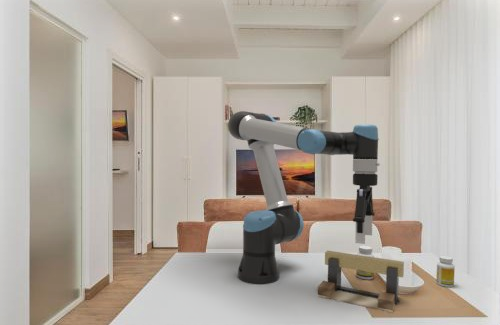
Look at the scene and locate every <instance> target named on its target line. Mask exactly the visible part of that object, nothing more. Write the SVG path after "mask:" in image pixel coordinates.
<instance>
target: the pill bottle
mask: <svg viewBox="0 0 500 325" xmlns="http://www.w3.org/2000/svg"><path fill="white" fill-rule="evenodd" d="M358 251H359V252H357V253H356V255H362V256H368V257H375V255H374V254H373V248H372V247H371V246H368V245H359V246H358ZM374 274H375V273H373V272H367V271H361V270H356V271H355V275H356V277H357V278H358V279H362V280H372V279H373V278H374Z"/></svg>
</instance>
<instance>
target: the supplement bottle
mask: <svg viewBox="0 0 500 325" xmlns="http://www.w3.org/2000/svg"><path fill="white" fill-rule="evenodd" d="M453 261H454V260H453V257H451V256H447V255H440V256H439V261H438V262H437V264H436V281H435V282H436V284H437V285H439V286H441V287H446V288H453V287H454V286H455V267H456V266H455V265H454V263H453Z"/></svg>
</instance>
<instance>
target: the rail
mask: <svg viewBox="0 0 500 325" xmlns="http://www.w3.org/2000/svg"><path fill="white" fill-rule="evenodd" d="M329 258H330V259H337V260H338V267H341V268H345V269H348V270H349V269H350V270H361V271H367V272H373V273H374V274H379V275H386V274H387V268H394V269H398V273H397V277H399V278H404V274H405V273H404V272H405V270H404V269H405V261H402V260H396V259H395V260H394V259H387V258H381V257H375V256H374V257H368V256H362V255H357V254H355V253H354V254H353V253H346V252H339V251H333V250H326V251H324V265H327V266H328V259H329Z"/></svg>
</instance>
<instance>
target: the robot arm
mask: <svg viewBox="0 0 500 325" xmlns="http://www.w3.org/2000/svg"><path fill="white" fill-rule="evenodd" d="M227 127H228V132H229V134H230V135H231V136H232V137H233V138H234V139H237V140H238V141H239V140H241V141H247V145H248V148H249V149H250V150H251V151H253V155H254V158H255V163H256V167H257V171H258V174H259V180H260V183H261V187H262V191H263V195H264V198H265V203H266V208H265V209H262V210H254V211H251V212H248V213H247V214H245V215H244V217H243V225H242V229H243V232H242V235H243V237H242V238H243V239H242V242H243V243H242V244H243V246H242V256H241V257H242V258H241V260H240V263H239V266H238V268H237V269H238V270H237V278H239V280H240V281H243V282H246V283H250V284H258V285H259V284H260V285H261V284H269V283H274V282H276V281H278V280H279V279H280V269H279V266H278V262H277V259H276V245H279V244H283V243H288V242H292V241H295V240H297V239H298V238H299V237H300V236H301V235H302V233H303V230H304V219H303V216H302V215H301V213H299V212H298V211H297V210H295V207H294V204H293V203H291V202H290V201H289V199H288V195H287V192H286V188H285V184H284V180H283V178H282V174H281V170H280V167H279V166H280V165H279V163H278V158H277V154H276V151H275V145H277V146H282V147H286V148H291V149H294V150H298V151H301V152H303V153H305V154H308V155H327V156H328V155H329V156H336V155H337V156H338V155H339V156H341V155H350V156H351V155H352V159H353V160H352V172H353V174H352V184H353V186H359V188H357V189H356V200H355V208H354V210H355V211H354V217H353V218H352V221H353V222H354V223H355V240H354V241H355V244H361V245H365V244H366V236H373V216H375V215H376V213H375V212H374V204H373V203H374V202H373V187H375V186H378V174H377V173H378V167H379V166H380V162H378V157H379V156H378V155H379V154H378V153H379V152H378V150H379V140H380V139H379V129H378V127H377V125H375V124H355V125H354V126H353V129H352V131H347V132H345V131H344V132H336V131H335V132H334V131H326V130H321V129H320V130H319V129H313V128H308V127H302V126H298V125H291V124H287V123H286V124H285V123H282V122H281V123H280V122H276V120H275V119H274V117H272V116H271V115H268V114H266V113H258V112H251V111H244V110H243V111H241V110H240V111H237V112H235V113H233V114H232V115H231V116H230V118H229V120H228V123H227Z"/></svg>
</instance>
